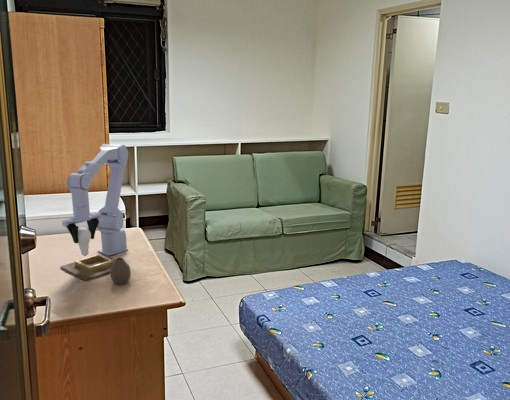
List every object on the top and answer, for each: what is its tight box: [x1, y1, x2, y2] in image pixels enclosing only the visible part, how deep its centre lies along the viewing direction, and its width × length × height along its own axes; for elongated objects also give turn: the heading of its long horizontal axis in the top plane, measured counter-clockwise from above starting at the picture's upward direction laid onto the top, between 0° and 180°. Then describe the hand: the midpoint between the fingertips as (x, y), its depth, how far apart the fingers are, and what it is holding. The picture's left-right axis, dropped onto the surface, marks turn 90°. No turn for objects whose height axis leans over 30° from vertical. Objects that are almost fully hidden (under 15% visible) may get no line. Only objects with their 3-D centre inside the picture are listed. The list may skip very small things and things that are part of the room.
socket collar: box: [74, 253, 114, 273], centre depth 186 cm, size 10×10×2 cm
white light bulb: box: [77, 227, 92, 257], centre depth 185 cm, size 6×6×11 cm
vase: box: [109, 257, 131, 286], centre depth 172 cm, size 7×7×9 cm
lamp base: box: [59, 253, 117, 282], centre depth 186 cm, size 18×18×1 cm
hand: (84, 240), depth 185 cm, fingers closed on white light bulb, 6 cm apart
